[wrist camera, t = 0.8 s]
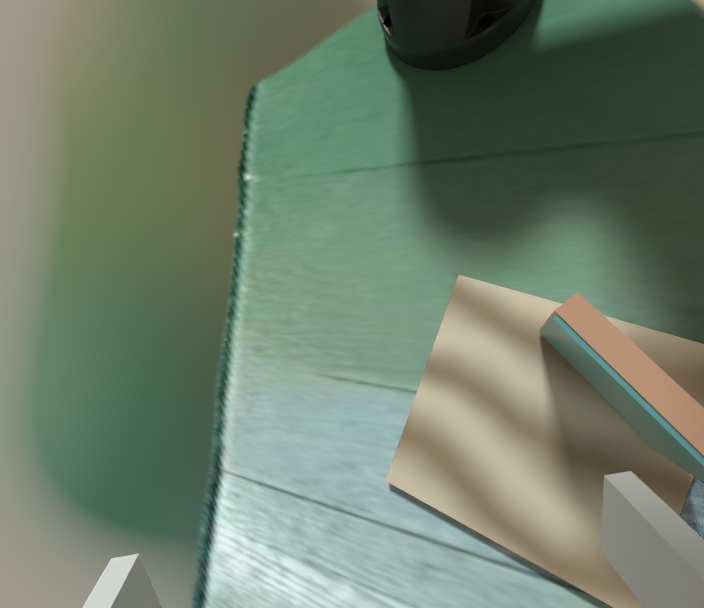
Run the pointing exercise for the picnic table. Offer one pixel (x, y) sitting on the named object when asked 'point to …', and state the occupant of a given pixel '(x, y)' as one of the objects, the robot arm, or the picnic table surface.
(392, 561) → the picnic table surface
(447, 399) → the birch board
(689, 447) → the tile
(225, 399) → the picnic table surface
